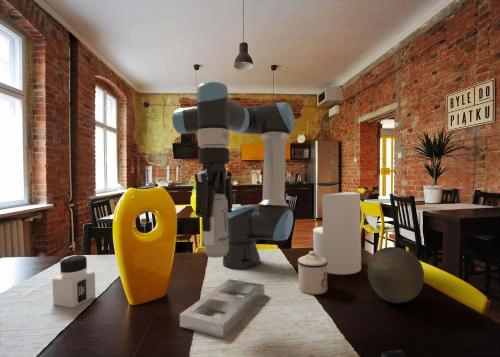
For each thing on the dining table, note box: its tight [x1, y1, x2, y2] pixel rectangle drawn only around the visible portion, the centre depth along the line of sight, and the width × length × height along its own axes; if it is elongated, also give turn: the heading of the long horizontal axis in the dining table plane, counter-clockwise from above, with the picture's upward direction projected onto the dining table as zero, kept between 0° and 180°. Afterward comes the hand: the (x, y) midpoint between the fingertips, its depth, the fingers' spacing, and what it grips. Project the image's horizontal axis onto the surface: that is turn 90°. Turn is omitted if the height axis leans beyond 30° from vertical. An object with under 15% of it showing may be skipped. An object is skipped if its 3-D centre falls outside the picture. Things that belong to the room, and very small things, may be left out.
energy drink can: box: [203, 193, 229, 258], centre depth 70 cm, size 6×6×15 cm
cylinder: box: [312, 191, 362, 275], centre depth 107 cm, size 17×17×28 cm
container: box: [52, 254, 96, 309], centre depth 83 cm, size 8×8×13 cm
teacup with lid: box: [297, 250, 328, 295], centre depth 88 cm, size 12×9×12 cm
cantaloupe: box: [366, 246, 425, 304], centre depth 77 cm, size 14×14×15 cm
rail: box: [179, 278, 265, 339], centre depth 76 cm, size 24×12×3 cm, turn 155°
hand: (216, 240), depth 70 cm, fingers closed on energy drink can, 6 cm apart
